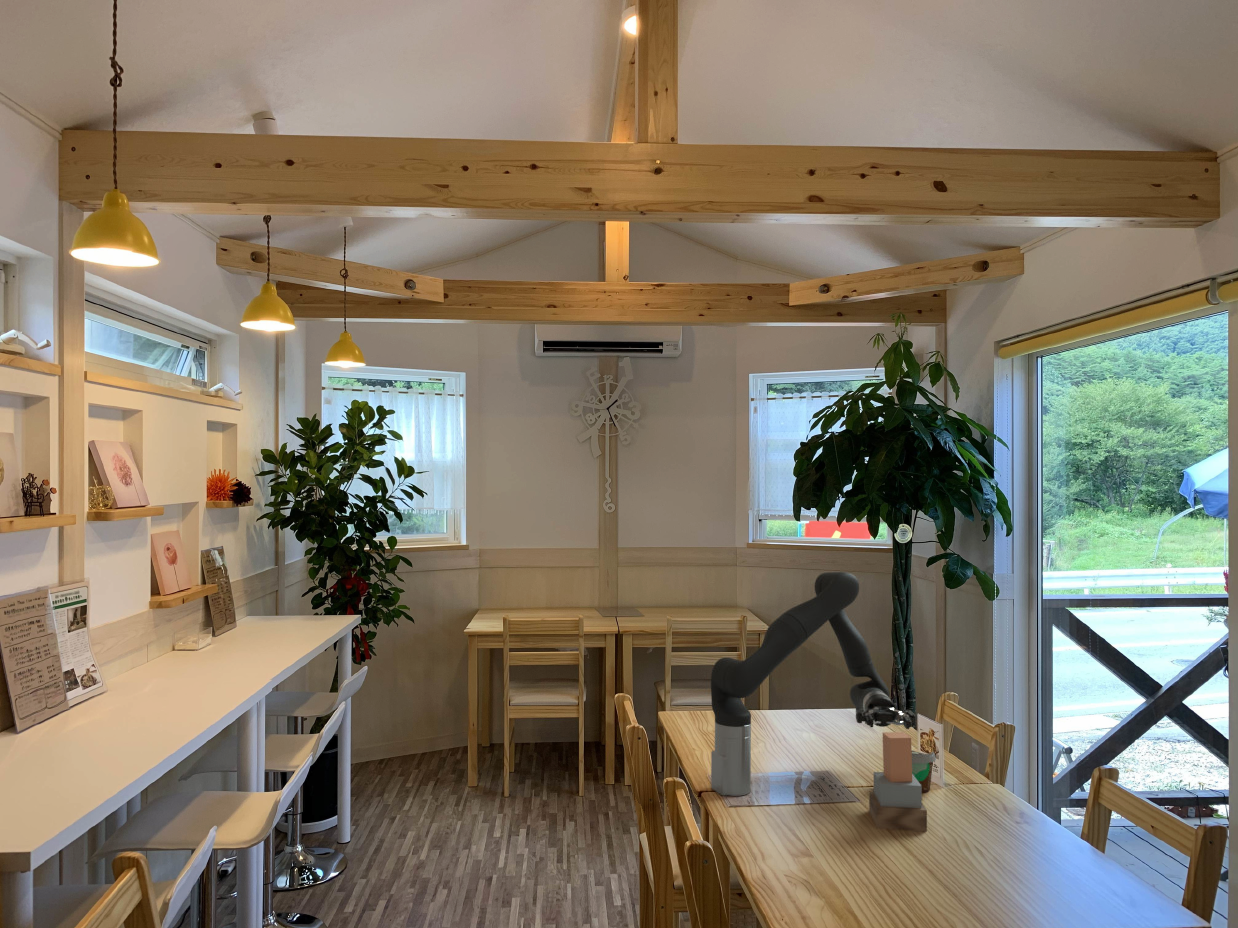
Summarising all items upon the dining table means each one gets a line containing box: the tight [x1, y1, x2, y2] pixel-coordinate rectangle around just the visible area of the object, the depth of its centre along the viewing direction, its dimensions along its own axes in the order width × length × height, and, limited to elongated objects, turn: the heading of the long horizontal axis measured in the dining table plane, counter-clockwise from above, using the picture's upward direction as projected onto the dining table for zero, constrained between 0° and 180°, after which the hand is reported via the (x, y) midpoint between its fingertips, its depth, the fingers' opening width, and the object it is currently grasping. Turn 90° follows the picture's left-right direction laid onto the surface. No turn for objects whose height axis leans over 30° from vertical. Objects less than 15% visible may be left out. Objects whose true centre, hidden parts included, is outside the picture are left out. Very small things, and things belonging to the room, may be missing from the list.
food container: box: [912, 750, 936, 794], centre depth 222 cm, size 12×6×10 cm, turn 62°
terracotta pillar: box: [882, 731, 913, 782], centre depth 201 cm, size 5×5×10 cm
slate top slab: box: [873, 771, 923, 808], centre depth 201 cm, size 9×9×5 cm
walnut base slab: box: [868, 790, 928, 832], centre depth 201 cm, size 11×11×5 cm
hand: (890, 723), depth 210 cm, fingers open, 8 cm apart
